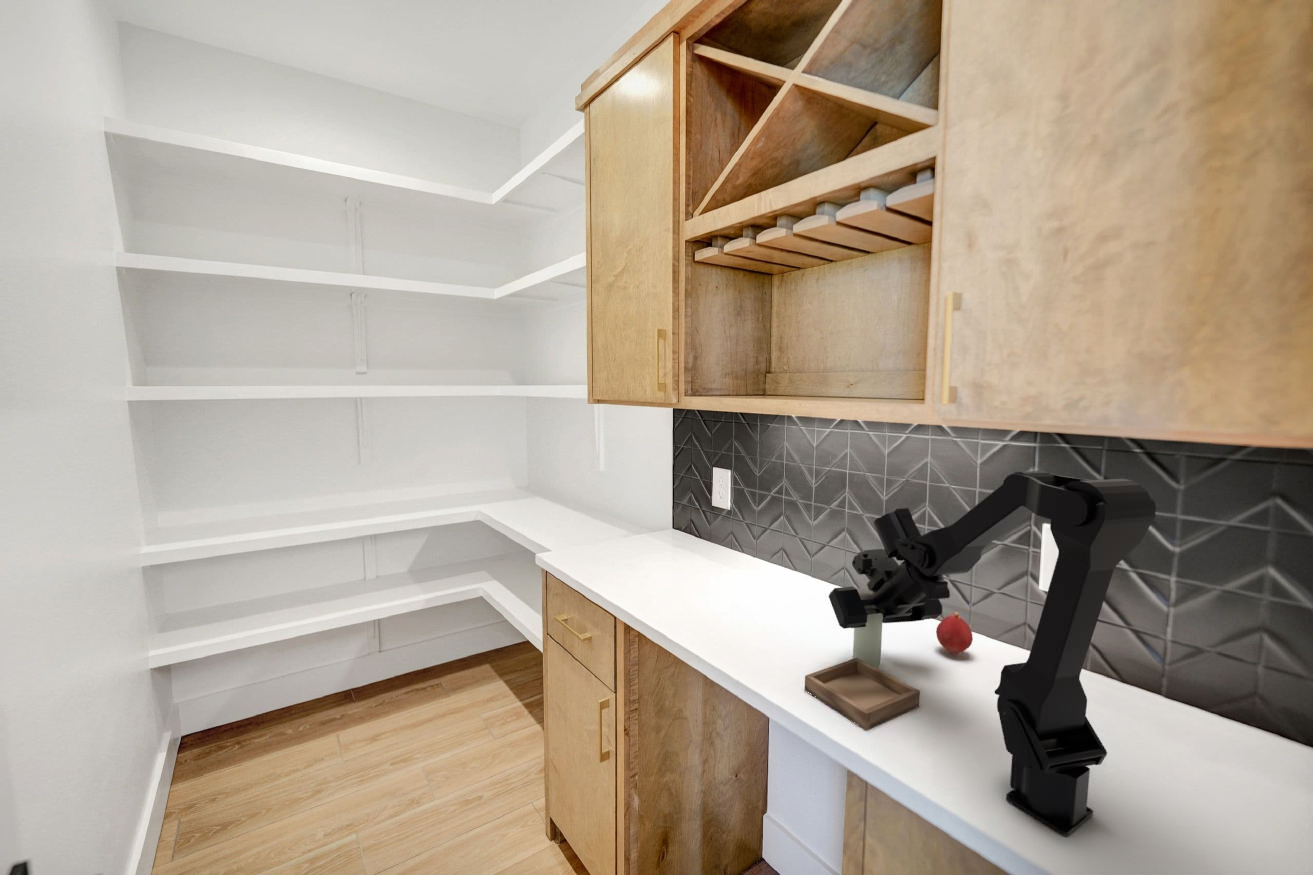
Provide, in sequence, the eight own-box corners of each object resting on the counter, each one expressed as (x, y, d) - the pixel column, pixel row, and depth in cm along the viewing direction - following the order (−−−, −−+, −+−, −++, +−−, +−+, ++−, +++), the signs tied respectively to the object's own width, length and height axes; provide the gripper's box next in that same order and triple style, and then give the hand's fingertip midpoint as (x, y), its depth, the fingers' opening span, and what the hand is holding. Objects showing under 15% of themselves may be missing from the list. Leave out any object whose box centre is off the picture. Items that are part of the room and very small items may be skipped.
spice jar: (887, 664, 99) (890, 595, 98) (868, 671, 96) (871, 600, 95) (864, 652, 103) (867, 586, 102) (845, 658, 101) (848, 591, 99)
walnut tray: (919, 706, 86) (920, 691, 86) (866, 730, 80) (866, 713, 80) (855, 671, 96) (856, 657, 96) (804, 690, 90) (805, 675, 90)
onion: (928, 649, 104) (930, 608, 104) (951, 644, 106) (953, 604, 106) (954, 664, 99) (957, 620, 98) (978, 659, 101) (981, 616, 100)
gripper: (934, 535, 96) (889, 576, 108) (836, 542, 91) (801, 584, 103) (967, 597, 89) (916, 634, 101) (863, 608, 85) (822, 645, 96)
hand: (863, 622), depth 100 cm, fingers open, 7 cm apart
